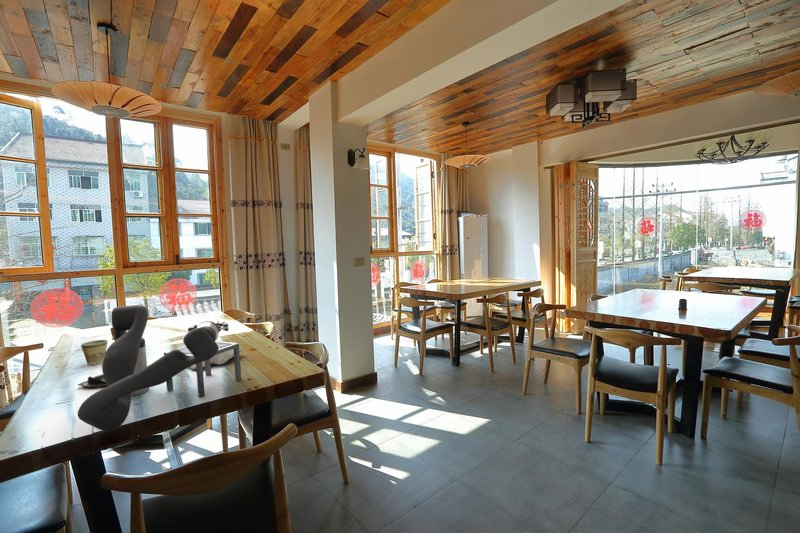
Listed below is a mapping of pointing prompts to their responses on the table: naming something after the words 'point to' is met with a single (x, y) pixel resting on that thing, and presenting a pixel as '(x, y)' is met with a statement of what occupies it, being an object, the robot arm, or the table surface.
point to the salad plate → (94, 382)
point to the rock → (220, 358)
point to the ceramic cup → (94, 351)
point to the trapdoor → (186, 351)
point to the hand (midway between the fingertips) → (211, 324)
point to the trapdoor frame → (208, 367)
